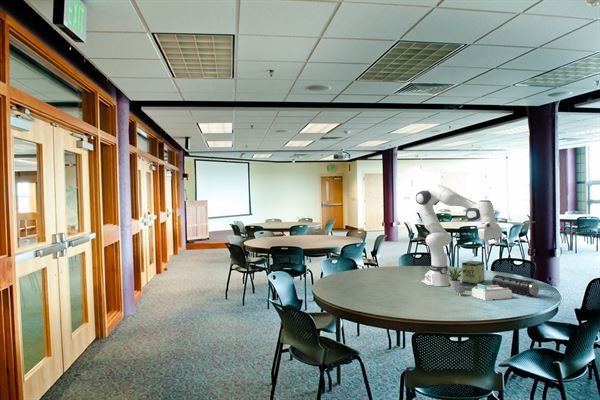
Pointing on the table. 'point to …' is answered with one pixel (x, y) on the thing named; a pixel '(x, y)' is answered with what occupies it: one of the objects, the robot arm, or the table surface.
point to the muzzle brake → (516, 285)
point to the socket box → (492, 293)
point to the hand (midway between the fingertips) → (492, 245)
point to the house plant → (454, 278)
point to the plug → (460, 290)
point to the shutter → (483, 287)
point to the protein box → (473, 272)
